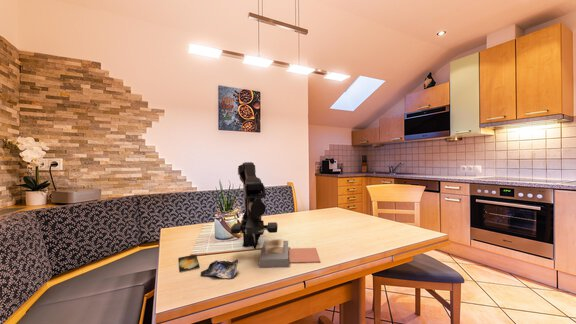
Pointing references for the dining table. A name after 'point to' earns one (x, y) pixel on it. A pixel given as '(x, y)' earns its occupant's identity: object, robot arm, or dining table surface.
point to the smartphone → (188, 263)
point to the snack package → (221, 269)
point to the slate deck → (274, 257)
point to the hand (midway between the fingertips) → (255, 248)
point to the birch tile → (274, 246)
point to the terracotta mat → (303, 255)
